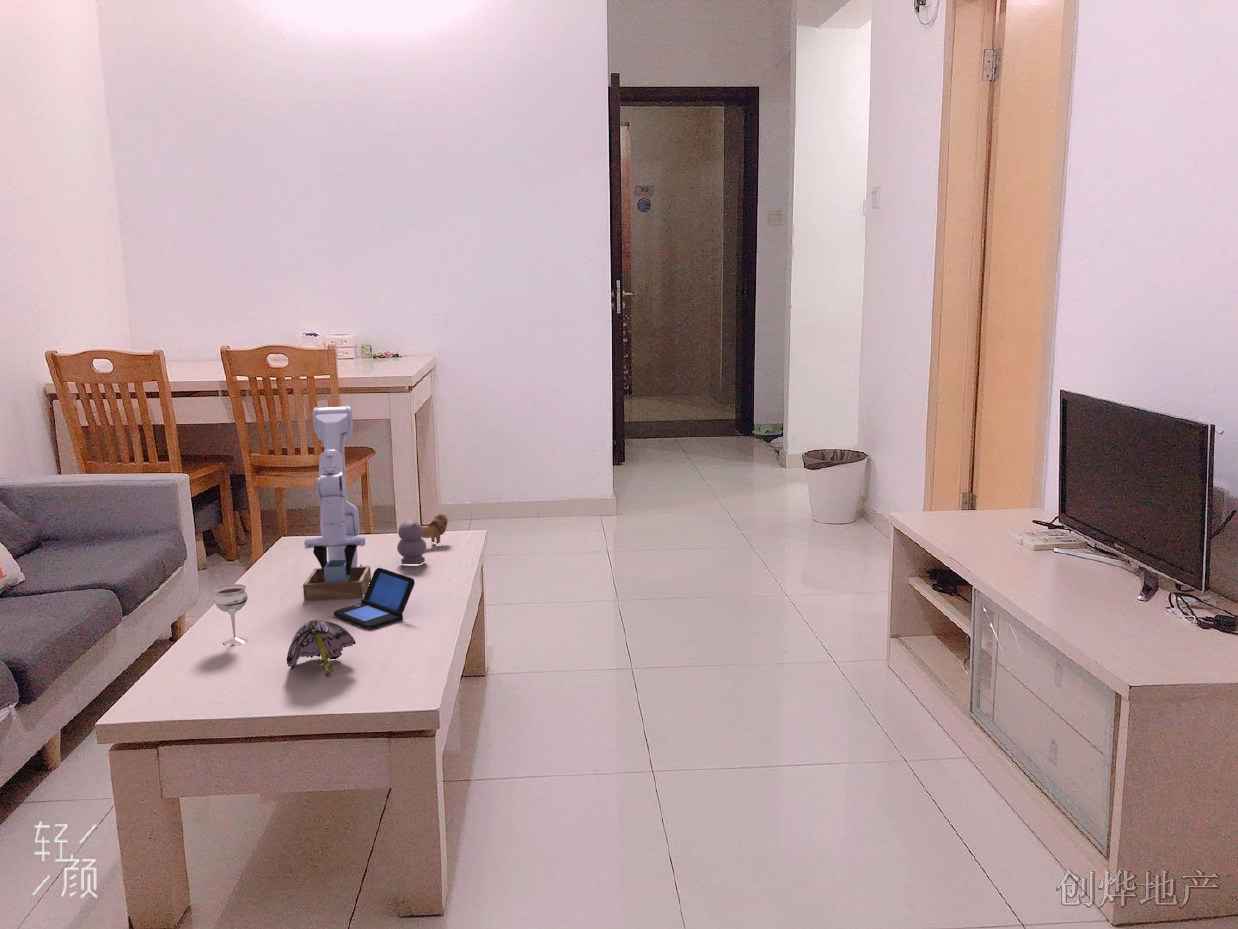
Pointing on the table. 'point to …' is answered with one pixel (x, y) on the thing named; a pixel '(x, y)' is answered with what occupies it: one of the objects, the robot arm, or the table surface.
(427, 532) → the lion figurine
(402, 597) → the handheld game console
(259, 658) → the table surface
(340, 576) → the blue crate
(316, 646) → the dark domed piece
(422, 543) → the grey rounded bulbous piece
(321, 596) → the tray
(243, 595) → the wineglass
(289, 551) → the table surface
